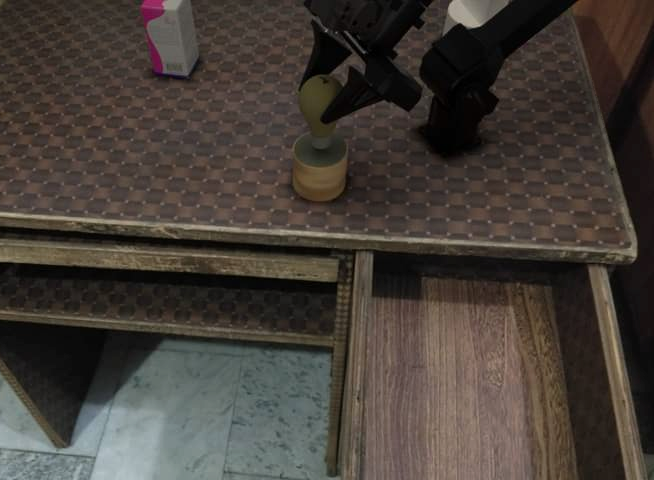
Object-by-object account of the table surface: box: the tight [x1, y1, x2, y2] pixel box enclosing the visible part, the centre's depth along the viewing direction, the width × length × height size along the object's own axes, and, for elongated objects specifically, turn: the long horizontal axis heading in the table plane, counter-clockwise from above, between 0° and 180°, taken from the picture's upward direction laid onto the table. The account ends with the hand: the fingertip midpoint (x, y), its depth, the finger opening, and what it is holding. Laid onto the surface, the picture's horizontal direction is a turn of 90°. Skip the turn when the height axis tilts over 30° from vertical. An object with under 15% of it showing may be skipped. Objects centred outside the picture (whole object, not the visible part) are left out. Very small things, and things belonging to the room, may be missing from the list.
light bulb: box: [297, 74, 344, 149], centre depth 76 cm, size 6×6×10 cm
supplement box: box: [140, 0, 200, 80], centre depth 96 cm, size 6×6×12 cm
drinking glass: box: [442, 0, 510, 37], centre depth 94 cm, size 9×9×12 cm
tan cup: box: [291, 131, 349, 202], centre depth 82 cm, size 7×7×6 cm
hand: (311, 107), depth 74 cm, fingers closed on light bulb, 5 cm apart
